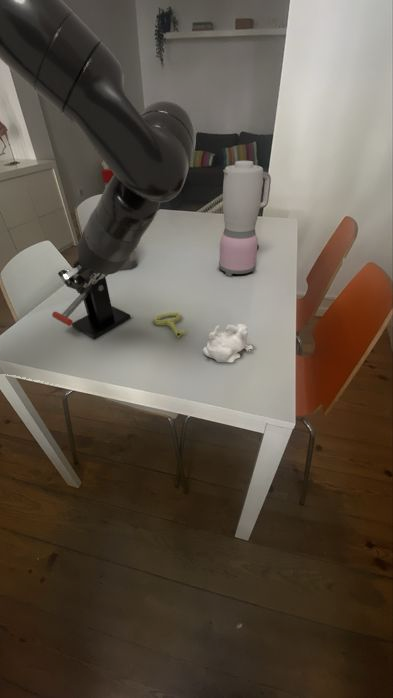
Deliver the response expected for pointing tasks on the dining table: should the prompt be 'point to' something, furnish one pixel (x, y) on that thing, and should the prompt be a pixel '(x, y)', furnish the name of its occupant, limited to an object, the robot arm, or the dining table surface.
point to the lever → (70, 310)
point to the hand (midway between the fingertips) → (80, 289)
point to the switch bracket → (99, 312)
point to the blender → (241, 216)
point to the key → (170, 322)
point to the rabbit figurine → (227, 343)
